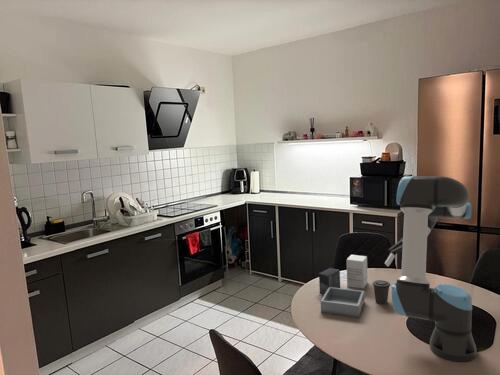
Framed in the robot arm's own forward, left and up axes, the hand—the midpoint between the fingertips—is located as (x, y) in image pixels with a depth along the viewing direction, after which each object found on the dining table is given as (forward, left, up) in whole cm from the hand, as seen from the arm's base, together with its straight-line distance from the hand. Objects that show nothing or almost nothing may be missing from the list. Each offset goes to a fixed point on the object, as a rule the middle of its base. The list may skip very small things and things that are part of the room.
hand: (396, 269), depth 184 cm
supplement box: (+10, +20, -14) cm, 27 cm away
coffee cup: (-8, +6, -14) cm, 18 cm away
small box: (-2, +32, -14) cm, 36 cm away
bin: (-19, +22, -14) cm, 33 cm away
